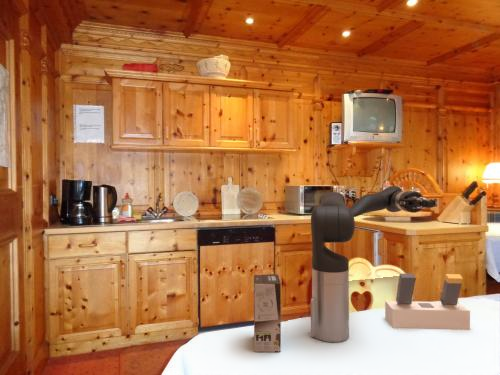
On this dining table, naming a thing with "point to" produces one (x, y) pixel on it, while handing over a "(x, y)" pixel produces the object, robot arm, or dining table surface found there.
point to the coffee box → (267, 313)
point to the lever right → (451, 289)
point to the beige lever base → (427, 315)
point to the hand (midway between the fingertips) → (429, 204)
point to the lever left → (405, 289)
